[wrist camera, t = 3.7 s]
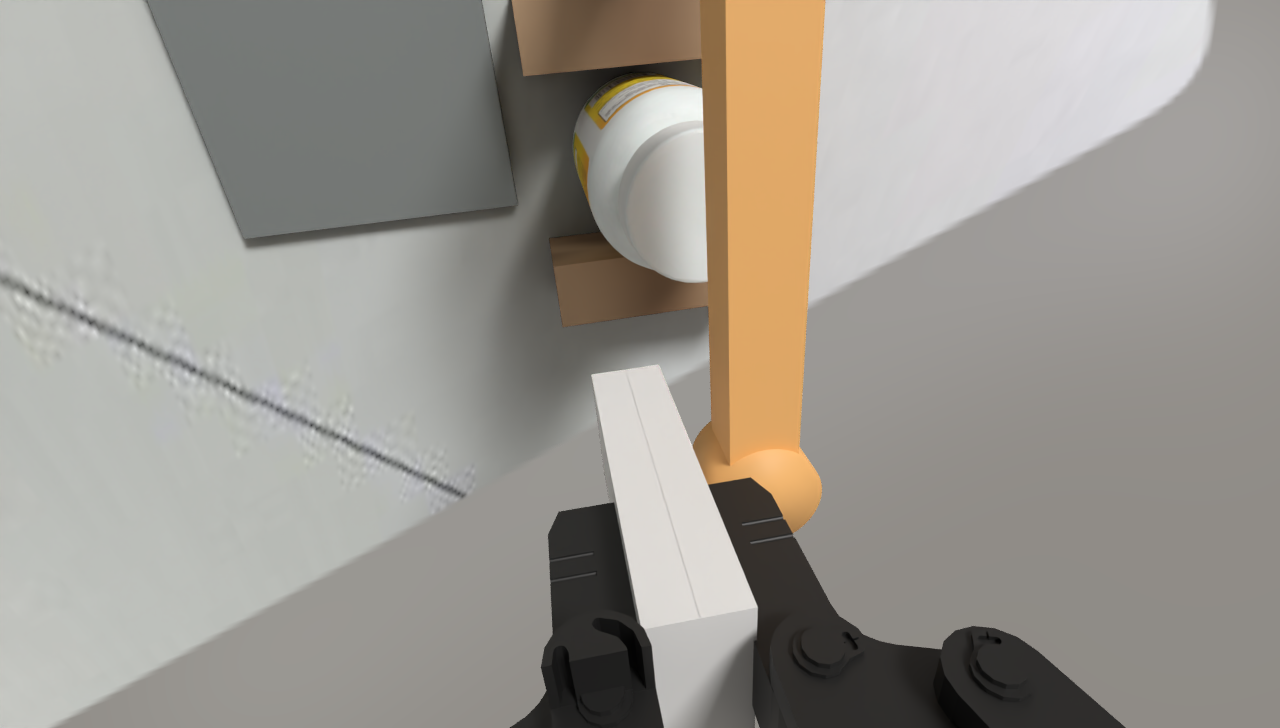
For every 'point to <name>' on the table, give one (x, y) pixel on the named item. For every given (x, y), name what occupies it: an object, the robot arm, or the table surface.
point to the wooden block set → (594, 39)
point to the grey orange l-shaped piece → (760, 239)
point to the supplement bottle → (647, 171)
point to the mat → (342, 108)
